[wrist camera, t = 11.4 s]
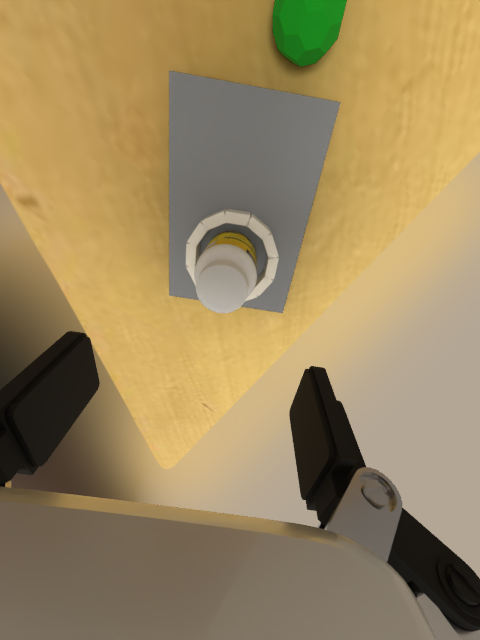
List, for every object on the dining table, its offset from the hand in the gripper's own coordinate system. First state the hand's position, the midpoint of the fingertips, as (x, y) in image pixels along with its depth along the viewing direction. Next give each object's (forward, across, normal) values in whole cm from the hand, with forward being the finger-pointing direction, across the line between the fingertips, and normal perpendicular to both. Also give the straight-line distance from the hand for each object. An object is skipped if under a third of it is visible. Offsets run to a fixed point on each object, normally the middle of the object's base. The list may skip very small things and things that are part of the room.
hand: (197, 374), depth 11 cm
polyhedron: (+21, -3, -18) cm, 27 cm away
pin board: (+20, 0, -4) cm, 21 cm away
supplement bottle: (+19, 0, 0) cm, 19 cm away
